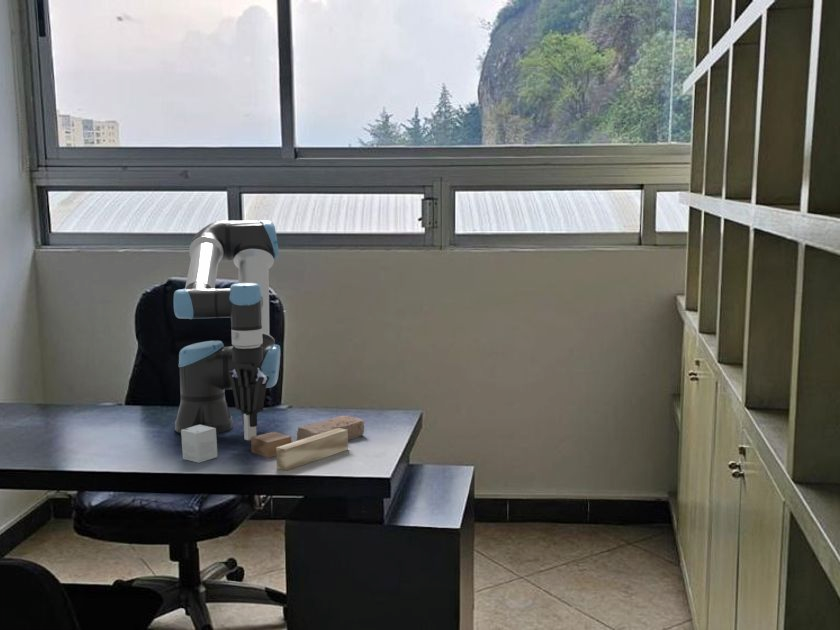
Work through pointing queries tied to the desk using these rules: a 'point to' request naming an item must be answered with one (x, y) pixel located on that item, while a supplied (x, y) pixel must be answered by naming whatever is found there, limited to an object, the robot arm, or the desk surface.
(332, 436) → the board
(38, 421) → the desk surface
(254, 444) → the block
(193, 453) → the skincare box
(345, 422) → the brick
